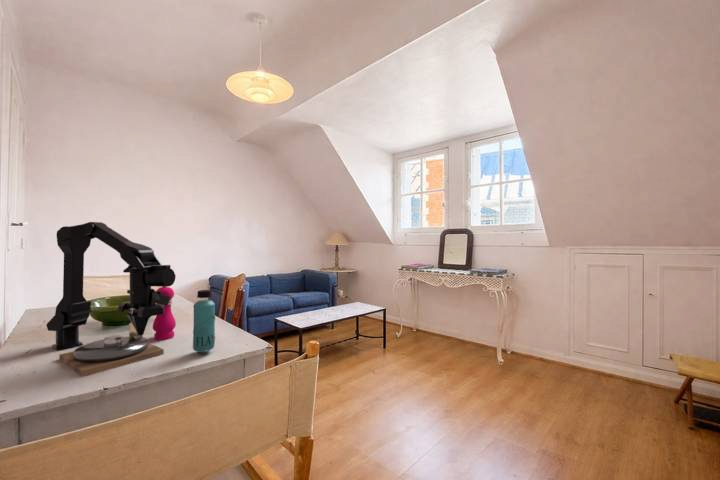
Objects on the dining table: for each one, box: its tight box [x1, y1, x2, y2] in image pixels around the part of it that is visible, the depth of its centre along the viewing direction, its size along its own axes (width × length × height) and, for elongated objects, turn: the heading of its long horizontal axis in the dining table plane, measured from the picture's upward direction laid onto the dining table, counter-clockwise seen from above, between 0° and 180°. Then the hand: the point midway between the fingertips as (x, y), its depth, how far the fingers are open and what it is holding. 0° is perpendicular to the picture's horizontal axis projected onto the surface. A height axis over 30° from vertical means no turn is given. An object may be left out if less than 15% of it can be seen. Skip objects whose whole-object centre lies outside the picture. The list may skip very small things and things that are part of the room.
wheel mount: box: [58, 342, 165, 377], centre depth 98 cm, size 20×20×2 cm
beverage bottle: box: [192, 289, 216, 353], centre depth 103 cm, size 6×7×20 cm
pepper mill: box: [152, 286, 177, 341], centre depth 117 cm, size 7×7×20 cm
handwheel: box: [73, 322, 149, 362], centre depth 98 cm, size 18×18×7 cm
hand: (141, 335), depth 103 cm, fingers closed
